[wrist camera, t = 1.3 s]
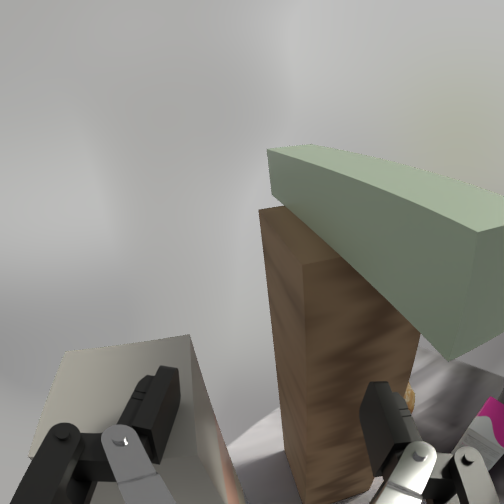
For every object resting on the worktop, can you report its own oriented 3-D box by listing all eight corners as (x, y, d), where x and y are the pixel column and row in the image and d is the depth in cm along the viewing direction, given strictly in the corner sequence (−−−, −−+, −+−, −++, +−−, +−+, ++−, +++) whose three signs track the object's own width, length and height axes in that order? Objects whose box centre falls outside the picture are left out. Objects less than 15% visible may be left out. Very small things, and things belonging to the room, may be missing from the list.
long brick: (314, 188, 28) (311, 144, 27) (521, 321, 8) (547, 213, 7) (271, 194, 28) (266, 149, 26) (448, 362, 8) (477, 232, 6)
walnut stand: (341, 433, 37) (355, 195, 25) (368, 490, 28) (435, 236, 16) (284, 449, 36) (258, 209, 24) (305, 511, 27) (301, 264, 15)
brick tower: (250, 509, 28) (189, 334, 17) (264, 564, 21) (197, 455, 10) (185, 517, 27) (65, 351, 16) (191, 572, 20) (28, 456, 9)
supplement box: (464, 497, 22) (505, 451, 18) (432, 476, 27) (464, 426, 23) (487, 466, 25) (526, 414, 20) (457, 447, 30) (488, 393, 25)
